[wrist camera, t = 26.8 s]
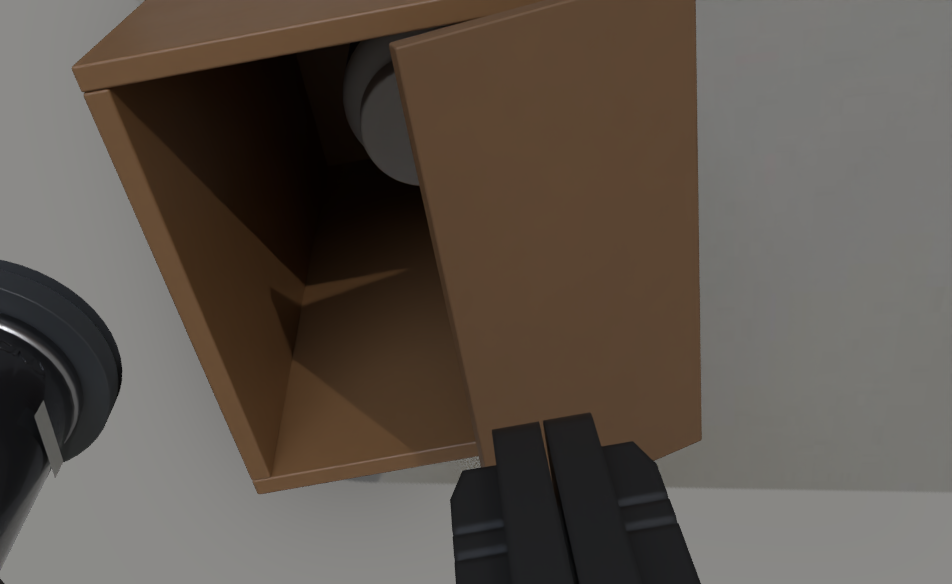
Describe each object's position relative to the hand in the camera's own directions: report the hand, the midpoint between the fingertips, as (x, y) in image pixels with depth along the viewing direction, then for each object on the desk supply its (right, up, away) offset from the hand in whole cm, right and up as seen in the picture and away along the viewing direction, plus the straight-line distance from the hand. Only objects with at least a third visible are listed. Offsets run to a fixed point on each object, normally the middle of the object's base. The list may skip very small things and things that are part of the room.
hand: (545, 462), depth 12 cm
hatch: (+1, +3, +4) cm, 5 cm away
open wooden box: (-3, +13, +21) cm, 26 cm away
